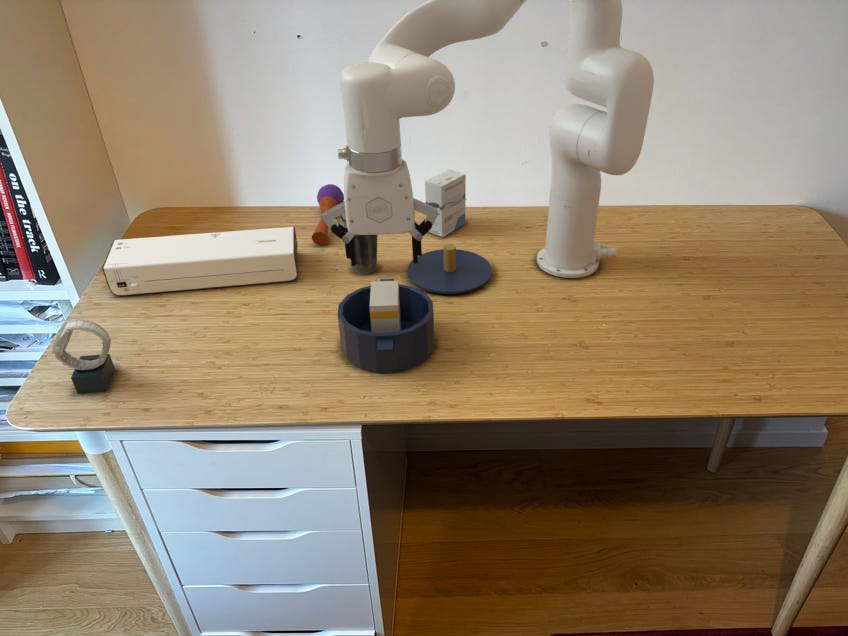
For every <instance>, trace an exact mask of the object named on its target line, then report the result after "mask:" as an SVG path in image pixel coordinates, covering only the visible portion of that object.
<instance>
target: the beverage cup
mask: <svg viewBox="0 0 848 636" xmlns="http://www.w3.org/2000/svg"><path fill="white" fill-rule="evenodd" d="M340 218H341V221H342V224H343V227H346V226H347V222H346V213H344V214H342V215H340ZM355 243H356V252H357V262H356V265H355V266H352V268H353V271H354V273H356V274H359V275H371V274H373V273H374V272H376V270H377V262H378V235H355Z"/></svg>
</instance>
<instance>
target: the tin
mask: <svg viewBox="0 0 848 636" xmlns="http://www.w3.org/2000/svg"><path fill="white" fill-rule="evenodd" d="M379 281H395V279H394V278H380V279H379ZM398 284H399V301H400V318H401V331H398V332H392V333H373V332H372V327H371V318H370V292H371V285H368V286H363V287H360V288H358V289H356V290H354V291H352V292H350V293H348V294H347V295H345V296H344V298H343V299H342V300H341V301H340V302H339V304H338V309H337V323H338V330H339V331H338V332H339V338H340V347H341V351H342V353H343V355H344V357H345V359H346V360H347V361H348V362H349V363H350V364H351V365H353V366H355V367H356V368H358V369H360V370H363V371H367V372H372V373H378V374H391V373H399V372H404V371H407V370H411V369H413V368H415V367H417V366H419V365H421V364H422V363H424V362H425V361H426V360H427V359H428V358H429V357H430V356H431V354H432V353H433V350H434V347H435V321H434V320H435V316H434V312H435V311H434V301H433V300H432V299H431V298H430V296H428V294H427V293H426V292H425V291H422V290H421V289H419V288H416V287H414V286H412V285H406V284H402V283H398Z"/></svg>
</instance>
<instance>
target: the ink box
mask: <svg viewBox="0 0 848 636" xmlns="http://www.w3.org/2000/svg"><path fill="white" fill-rule="evenodd" d="M466 181H467V180H466V174H465V173H463V172H459V171H455V170H453V169H447V170H445V171H442V172H441V173H438V174H436V175H434V176H433V177H431V178H428V179H427V180H425V181H424V190H425V197H424V198H425V203H426V204H428V205H431V206H433V207H435V208H437V209H438V216H437V218H436V220H435V222H434V223H433V225H432V228H431V229H430V230H429V231H428V232H427V233H431V234H433V235H436V236H438V237H440V238H445V237H446V236H448V235H450V234H451V233H453V232H454V231H455V230H457V229H459V228H460V227H462V226H464V225H465V224H466V190H467V188H466V183H467V182H466ZM426 216H427V215H425V217H426Z"/></svg>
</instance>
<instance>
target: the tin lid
mask: <svg viewBox="0 0 848 636" xmlns="http://www.w3.org/2000/svg"><path fill="white" fill-rule="evenodd" d="M442 248H443V249H442ZM442 248H441V249H434V250H430V251H427V252H424V253H422V256H418V263H413V259H412V260H411V261H410V263H409V264H408V266H407V269H406V270H407V271H406V273H407V277H408V279H409V281H410V282H411V283H412V285H413V284H414V285H415V286H416V287H418V288H420V289H422V290H424V291H427V292H430V293H434V294H441V295H456V294H464V293H470V292H473V291H475V290H478V289H480V288H482V287H483V286H485V285H486V284H487V283H488V282H489V281H490V280H491V277H492V275H493V268H492V265H491V263H490V262H489V260H487V259H486V258H485V257H483V256H482V255H480V254H478V253H475V252H472V251H469V250H466V249H465V250H464V249H460V248H459V249H458V248H457V246H456V245H455V244H452V243H447V244H444V245H443V246H442Z"/></svg>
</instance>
